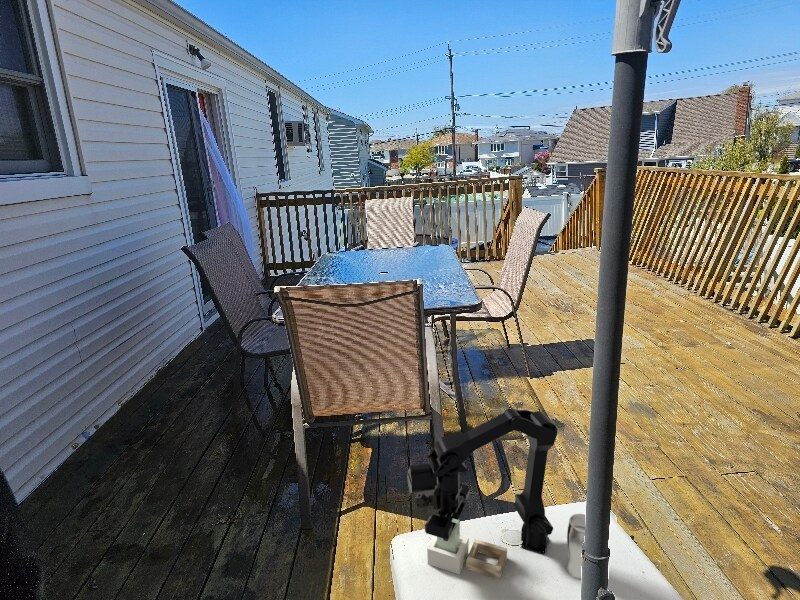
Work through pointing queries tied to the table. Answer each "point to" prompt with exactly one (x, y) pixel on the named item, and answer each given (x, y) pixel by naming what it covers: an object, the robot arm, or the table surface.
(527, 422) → the robot arm
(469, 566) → the tan wooden frame
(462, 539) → the socket
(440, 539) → the plug
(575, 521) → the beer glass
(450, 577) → the table surface
